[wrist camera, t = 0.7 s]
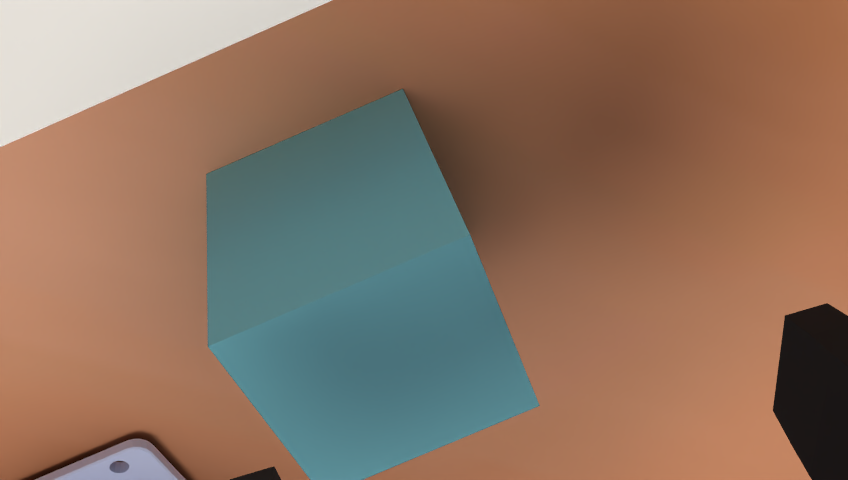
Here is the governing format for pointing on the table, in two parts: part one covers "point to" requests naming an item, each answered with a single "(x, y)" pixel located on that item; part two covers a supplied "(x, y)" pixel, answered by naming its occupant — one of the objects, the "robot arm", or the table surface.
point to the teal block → (356, 297)
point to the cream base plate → (110, 49)
